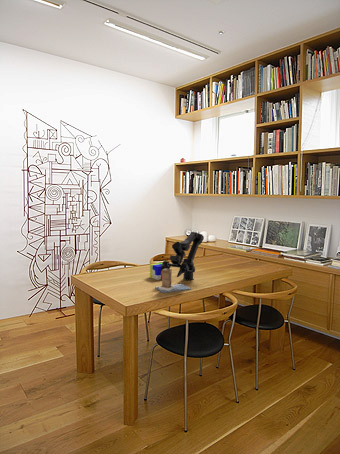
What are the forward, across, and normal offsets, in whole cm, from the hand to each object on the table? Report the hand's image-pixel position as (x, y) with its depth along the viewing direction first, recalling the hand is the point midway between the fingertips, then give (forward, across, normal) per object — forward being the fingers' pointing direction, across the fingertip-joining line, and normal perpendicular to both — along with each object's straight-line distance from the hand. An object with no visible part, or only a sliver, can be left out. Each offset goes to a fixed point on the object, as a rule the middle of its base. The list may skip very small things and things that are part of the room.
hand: (171, 276), depth 229 cm
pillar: (+9, 0, +1) cm, 9 cm away
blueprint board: (+7, +2, +4) cm, 9 cm away
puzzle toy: (-8, -22, +20) cm, 31 cm away
